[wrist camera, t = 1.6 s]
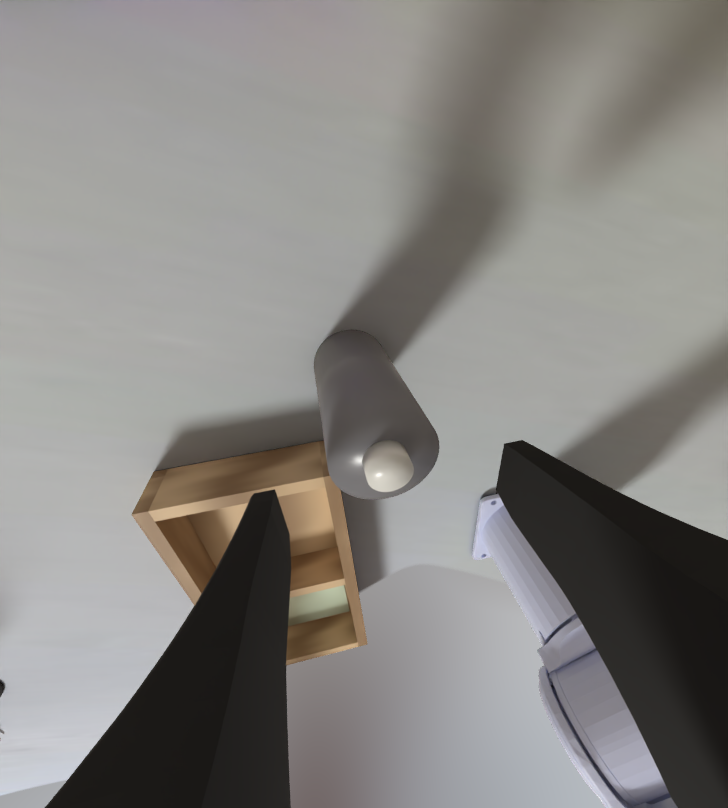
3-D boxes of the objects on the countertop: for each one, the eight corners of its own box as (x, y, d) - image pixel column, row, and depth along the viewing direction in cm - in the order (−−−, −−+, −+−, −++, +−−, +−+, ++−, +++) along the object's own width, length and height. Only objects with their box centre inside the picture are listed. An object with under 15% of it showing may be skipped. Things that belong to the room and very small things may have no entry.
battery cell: (383, 324, 17) (451, 413, 10) (387, 390, 19) (445, 503, 12) (307, 335, 17) (320, 437, 9) (320, 401, 19) (338, 526, 12)
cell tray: (331, 438, 20) (337, 474, 18) (360, 606, 31) (367, 644, 29) (153, 471, 19) (131, 514, 17) (248, 634, 30) (243, 676, 27)
